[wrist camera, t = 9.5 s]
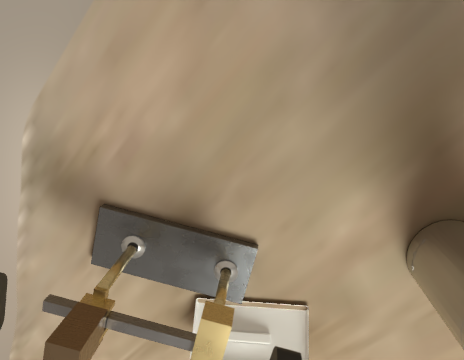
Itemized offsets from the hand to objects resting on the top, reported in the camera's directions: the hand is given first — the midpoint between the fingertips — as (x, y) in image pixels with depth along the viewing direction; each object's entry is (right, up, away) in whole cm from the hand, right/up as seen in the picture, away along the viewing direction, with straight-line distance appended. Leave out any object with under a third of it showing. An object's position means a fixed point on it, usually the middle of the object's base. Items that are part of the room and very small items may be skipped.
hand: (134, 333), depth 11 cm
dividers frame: (-6, -6, +38) cm, 39 cm away
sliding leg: (-10, -6, +38) cm, 39 cm away
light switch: (+5, -15, +41) cm, 44 cm away
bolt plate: (-5, -5, +39) cm, 40 cm away
